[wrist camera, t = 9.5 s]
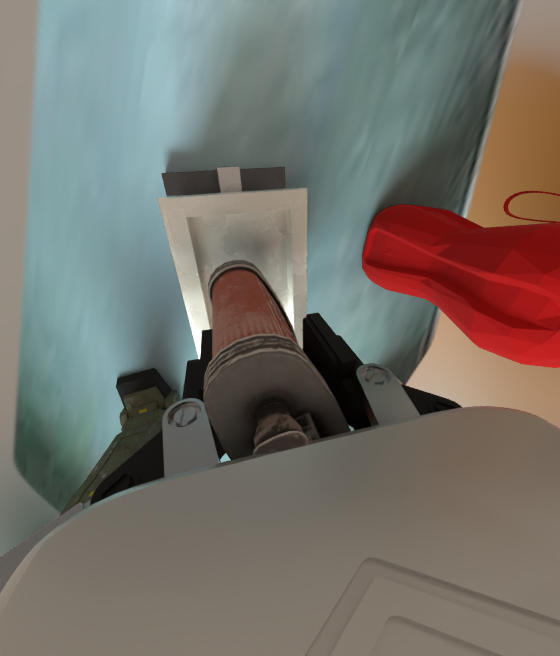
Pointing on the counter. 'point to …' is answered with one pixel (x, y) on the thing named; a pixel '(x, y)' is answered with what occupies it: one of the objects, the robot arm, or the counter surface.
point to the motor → (237, 235)
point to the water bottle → (475, 276)
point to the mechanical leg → (130, 426)
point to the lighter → (261, 371)
